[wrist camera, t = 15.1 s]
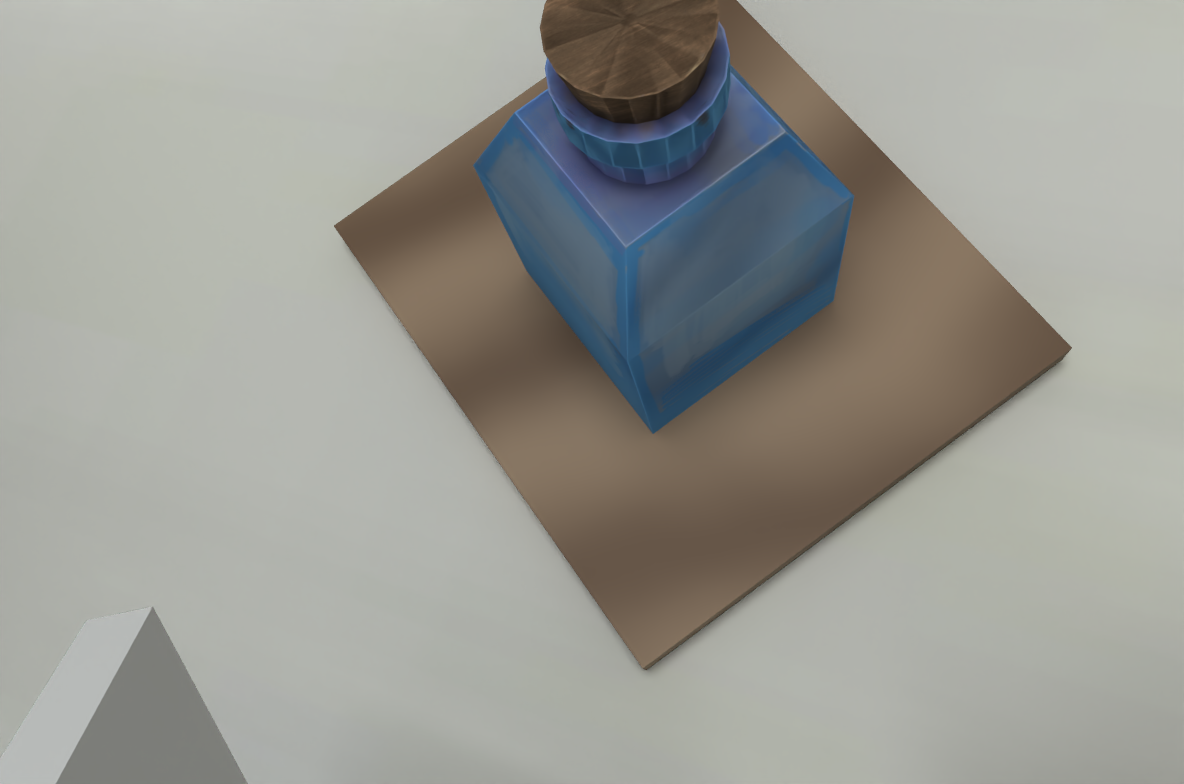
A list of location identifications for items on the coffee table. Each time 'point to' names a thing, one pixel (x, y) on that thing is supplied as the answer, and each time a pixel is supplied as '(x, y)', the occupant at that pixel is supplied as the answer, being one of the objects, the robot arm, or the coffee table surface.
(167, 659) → the robot arm
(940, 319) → the walnut board
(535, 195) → the perfume bottle
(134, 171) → the coffee table surface
